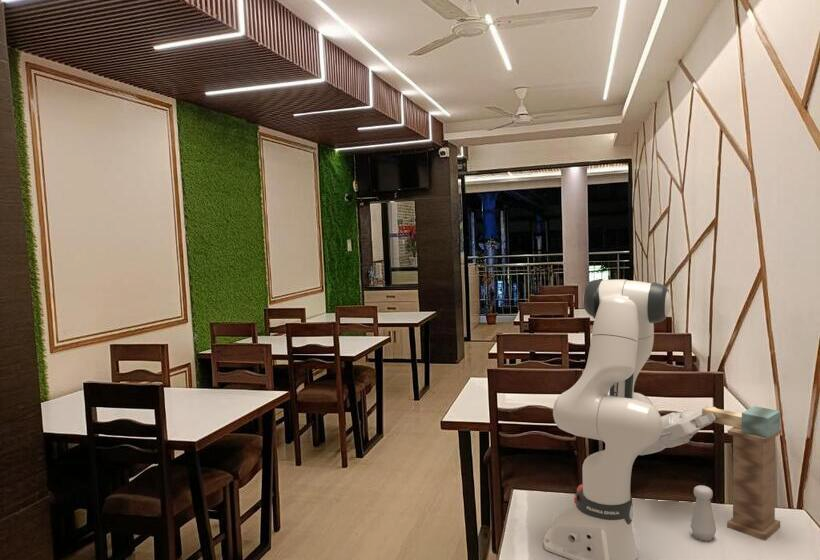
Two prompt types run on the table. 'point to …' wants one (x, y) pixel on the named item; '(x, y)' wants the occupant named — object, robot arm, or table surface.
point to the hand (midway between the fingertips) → (718, 414)
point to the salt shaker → (703, 514)
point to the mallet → (748, 420)
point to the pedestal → (753, 484)
